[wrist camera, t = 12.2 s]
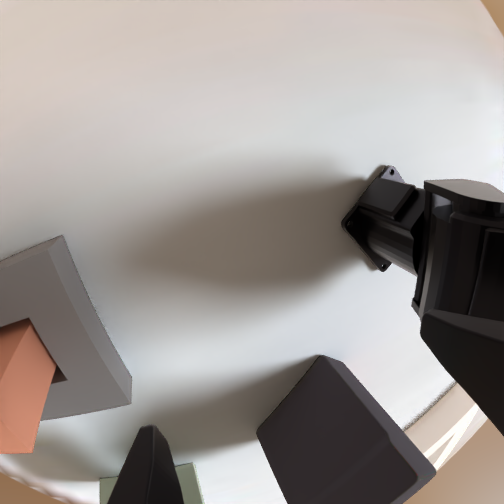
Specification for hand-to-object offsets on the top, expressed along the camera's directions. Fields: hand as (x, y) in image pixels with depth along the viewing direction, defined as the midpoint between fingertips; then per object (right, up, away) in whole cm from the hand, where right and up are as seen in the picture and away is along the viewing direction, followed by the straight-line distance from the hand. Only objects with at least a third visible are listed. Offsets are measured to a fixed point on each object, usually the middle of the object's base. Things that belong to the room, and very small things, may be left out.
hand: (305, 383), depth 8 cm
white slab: (+30, -35, +37) cm, 59 cm away
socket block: (-18, -2, +10) cm, 20 cm away
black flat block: (+3, -10, +19) cm, 22 cm away
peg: (-18, -2, +10) cm, 20 cm away
